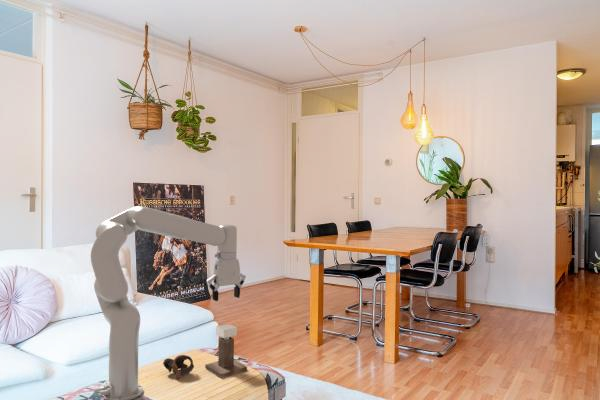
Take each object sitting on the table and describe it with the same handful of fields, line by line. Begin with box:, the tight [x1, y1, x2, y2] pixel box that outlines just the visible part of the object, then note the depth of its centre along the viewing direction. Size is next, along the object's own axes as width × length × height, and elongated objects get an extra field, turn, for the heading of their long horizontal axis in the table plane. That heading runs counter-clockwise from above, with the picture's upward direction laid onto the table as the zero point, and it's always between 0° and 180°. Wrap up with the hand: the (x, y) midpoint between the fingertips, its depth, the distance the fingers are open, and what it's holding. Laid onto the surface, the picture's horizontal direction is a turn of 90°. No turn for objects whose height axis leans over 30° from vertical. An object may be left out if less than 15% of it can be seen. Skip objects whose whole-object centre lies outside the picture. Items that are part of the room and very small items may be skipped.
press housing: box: [204, 336, 248, 379], centre depth 175 cm, size 12×12×12 cm
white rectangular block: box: [215, 323, 238, 340], centre depth 175 cm, size 6×6×15 cm
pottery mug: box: [162, 354, 195, 380], centre depth 170 cm, size 12×10×8 cm
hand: (226, 298), depth 175 cm, fingers open, 9 cm apart
